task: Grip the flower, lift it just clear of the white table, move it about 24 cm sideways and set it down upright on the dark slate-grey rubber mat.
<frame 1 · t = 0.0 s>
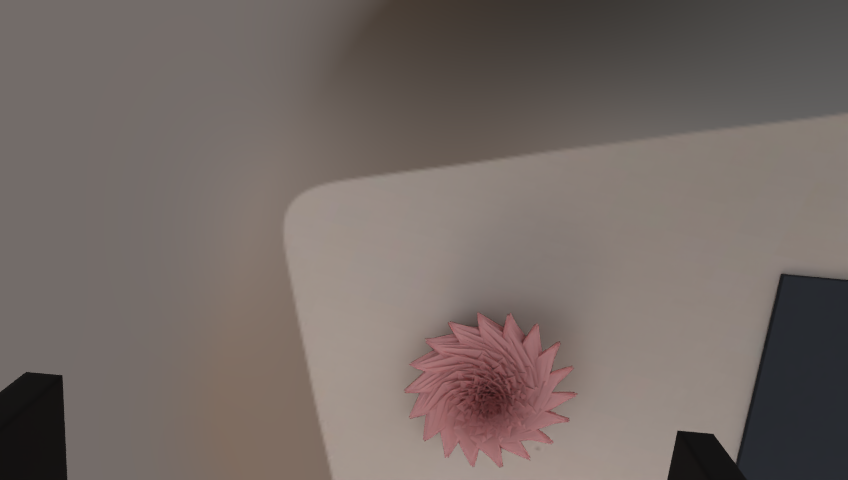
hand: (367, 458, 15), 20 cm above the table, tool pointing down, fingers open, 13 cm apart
flower: (484, 358, 36), on the table
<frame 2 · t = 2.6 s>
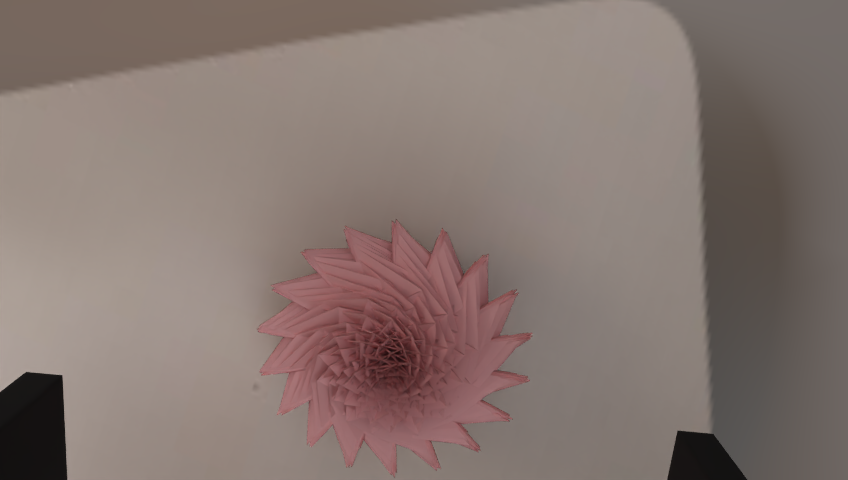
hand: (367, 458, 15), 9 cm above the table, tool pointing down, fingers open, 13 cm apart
flower: (401, 308, 24), on the table
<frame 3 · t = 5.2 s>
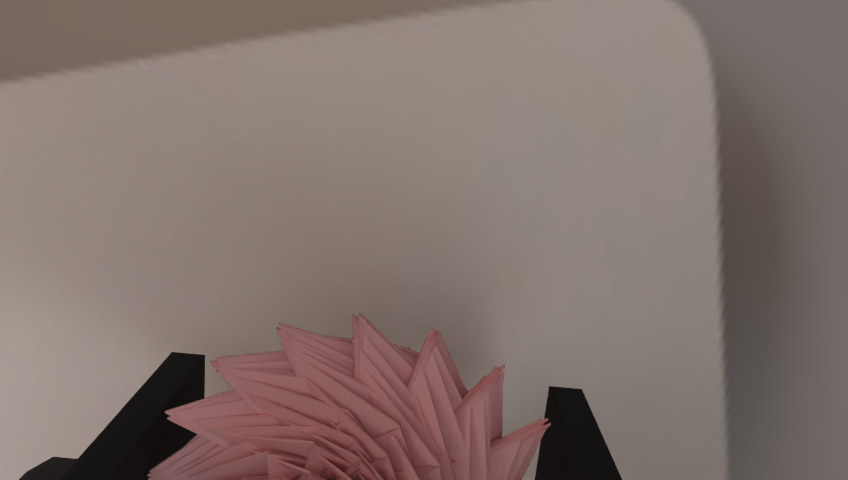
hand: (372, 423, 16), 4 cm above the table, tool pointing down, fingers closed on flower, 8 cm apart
flower: (374, 412, 17), point 3 cm above the table, touching gripper
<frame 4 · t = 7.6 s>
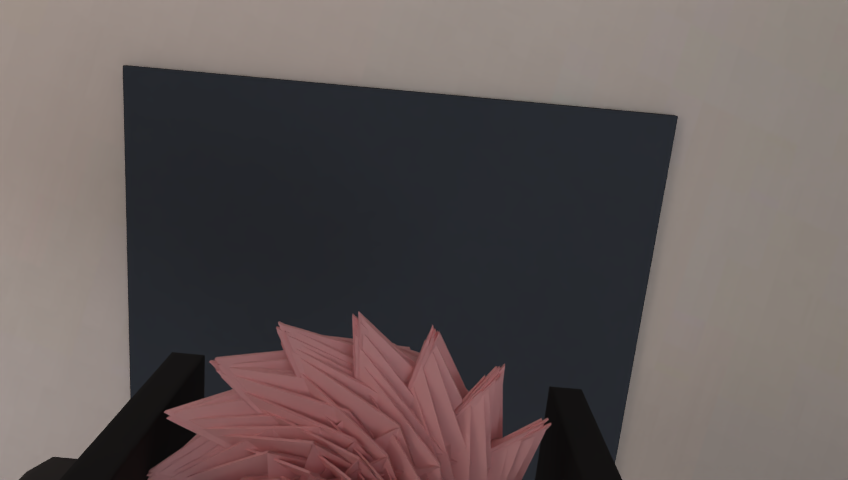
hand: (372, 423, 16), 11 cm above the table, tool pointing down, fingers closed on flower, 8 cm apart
flower: (374, 412, 17), point 11 cm above the table, touching gripper
mat: (381, 344, 28), on the table
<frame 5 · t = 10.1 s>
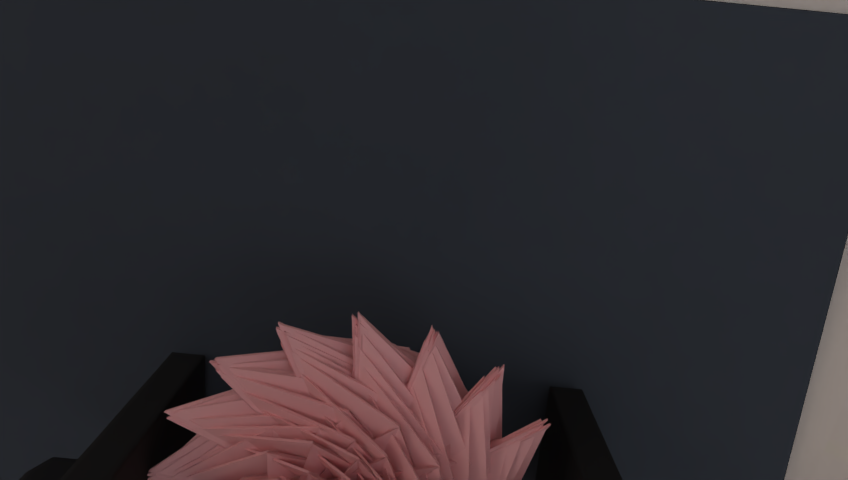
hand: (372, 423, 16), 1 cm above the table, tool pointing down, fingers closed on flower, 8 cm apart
flower: (374, 412, 17), resting on mat, touching gripper
mat: (376, 411, 17), on the table
when the fingers open (1 cm above the table, at t = 10.4 s): flower stays where it is, resting on mat.
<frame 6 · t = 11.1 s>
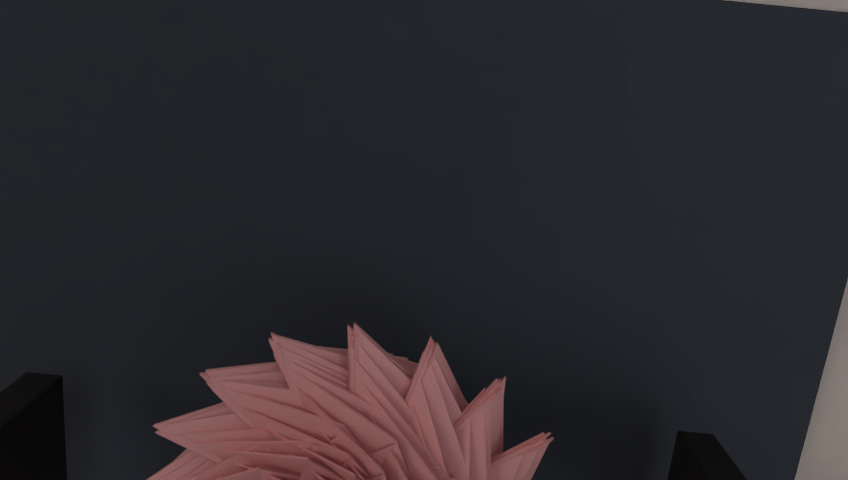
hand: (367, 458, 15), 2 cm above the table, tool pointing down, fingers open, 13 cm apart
flower: (371, 422, 16), resting on mat
mat: (373, 421, 16), on the table
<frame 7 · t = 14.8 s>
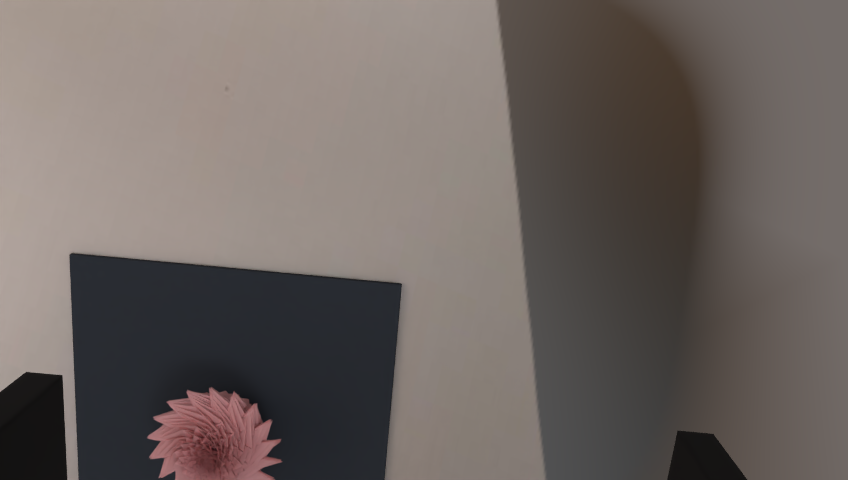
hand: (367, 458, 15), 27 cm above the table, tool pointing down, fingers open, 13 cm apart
flower: (232, 416, 44), resting on mat
mat: (233, 416, 44), on the table
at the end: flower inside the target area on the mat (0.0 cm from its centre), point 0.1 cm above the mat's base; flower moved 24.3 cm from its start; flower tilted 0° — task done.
